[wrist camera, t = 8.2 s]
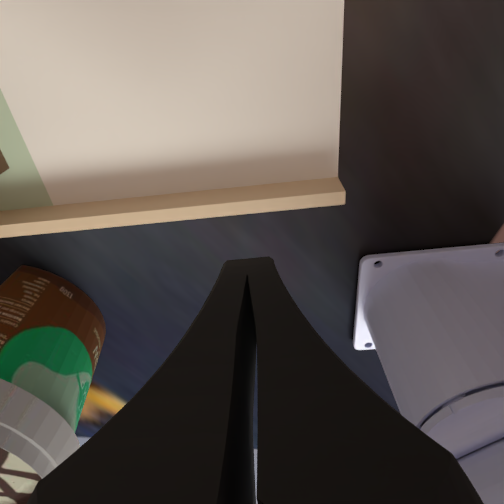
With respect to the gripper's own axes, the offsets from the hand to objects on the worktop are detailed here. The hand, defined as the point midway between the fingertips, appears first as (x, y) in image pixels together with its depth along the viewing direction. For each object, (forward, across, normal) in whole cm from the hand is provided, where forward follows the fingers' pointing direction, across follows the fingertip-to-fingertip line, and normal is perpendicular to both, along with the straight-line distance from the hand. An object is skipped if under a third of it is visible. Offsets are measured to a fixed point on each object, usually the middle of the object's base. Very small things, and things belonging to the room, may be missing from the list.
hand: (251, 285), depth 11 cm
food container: (+10, +13, +10) cm, 19 cm away
